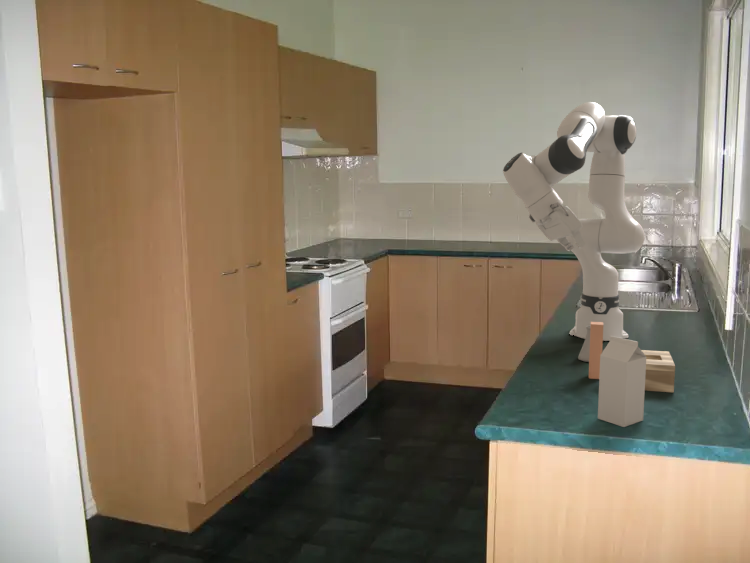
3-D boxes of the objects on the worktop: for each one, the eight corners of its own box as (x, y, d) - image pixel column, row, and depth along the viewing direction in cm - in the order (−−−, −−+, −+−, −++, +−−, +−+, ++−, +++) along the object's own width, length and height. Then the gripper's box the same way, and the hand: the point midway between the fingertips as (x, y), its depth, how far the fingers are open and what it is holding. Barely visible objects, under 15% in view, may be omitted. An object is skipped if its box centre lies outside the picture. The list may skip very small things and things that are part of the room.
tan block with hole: (628, 374, 202) (629, 349, 201) (667, 376, 199) (668, 351, 198) (631, 389, 189) (633, 363, 188) (673, 392, 186) (675, 365, 185)
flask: (598, 356, 221) (599, 323, 219) (606, 362, 214) (608, 329, 212) (574, 356, 221) (575, 324, 219) (581, 363, 213) (583, 329, 212)
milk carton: (624, 428, 162) (628, 344, 159) (597, 419, 168) (600, 338, 165) (643, 421, 166) (647, 339, 163) (616, 412, 172) (620, 333, 169)
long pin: (588, 375, 202) (590, 321, 199) (600, 375, 201) (603, 322, 198) (588, 378, 199) (590, 324, 196) (601, 379, 198) (603, 324, 195)
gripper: (567, 194, 189) (599, 237, 189) (544, 205, 210) (573, 244, 210) (548, 208, 189) (580, 251, 189) (527, 218, 209) (556, 257, 209)
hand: (576, 248), depth 200 cm, fingers open, 8 cm apart
